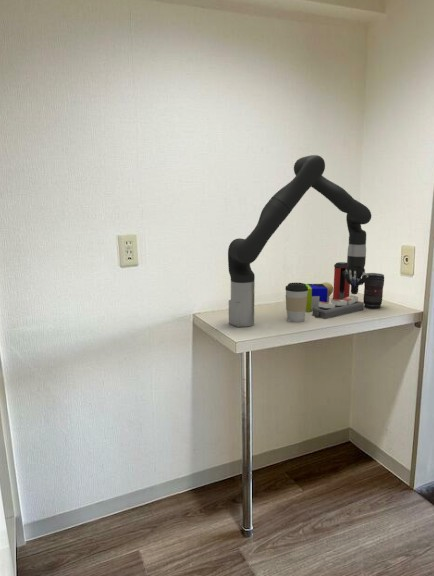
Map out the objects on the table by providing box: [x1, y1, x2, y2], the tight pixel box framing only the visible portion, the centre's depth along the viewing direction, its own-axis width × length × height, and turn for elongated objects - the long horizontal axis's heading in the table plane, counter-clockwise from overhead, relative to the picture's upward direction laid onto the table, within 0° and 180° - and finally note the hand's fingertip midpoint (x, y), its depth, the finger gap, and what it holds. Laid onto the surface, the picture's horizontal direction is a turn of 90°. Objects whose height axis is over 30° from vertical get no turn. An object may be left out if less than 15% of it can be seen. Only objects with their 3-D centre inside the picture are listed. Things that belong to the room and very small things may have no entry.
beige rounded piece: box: [321, 282, 334, 303], centre depth 193 cm, size 6×6×10 cm
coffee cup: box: [284, 282, 308, 323], centre depth 170 cm, size 9×9×15 cm
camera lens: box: [363, 272, 385, 310], centre depth 187 cm, size 8×8×15 cm
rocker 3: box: [343, 294, 359, 305], centre depth 184 cm, size 6×4×2 cm, turn 123°
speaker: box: [332, 261, 351, 300], centre depth 198 cm, size 8×8×18 cm
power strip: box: [311, 300, 364, 320], centre depth 180 cm, size 26×7×3 cm, turn 124°
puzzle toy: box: [305, 283, 328, 312], centre depth 187 cm, size 10×10×10 cm
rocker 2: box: [330, 298, 347, 306], centre depth 180 cm, size 6×4×2 cm, turn 124°
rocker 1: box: [318, 301, 335, 308], centre depth 176 cm, size 6×4×2 cm, turn 124°
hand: (354, 293), depth 185 cm, fingers closed
